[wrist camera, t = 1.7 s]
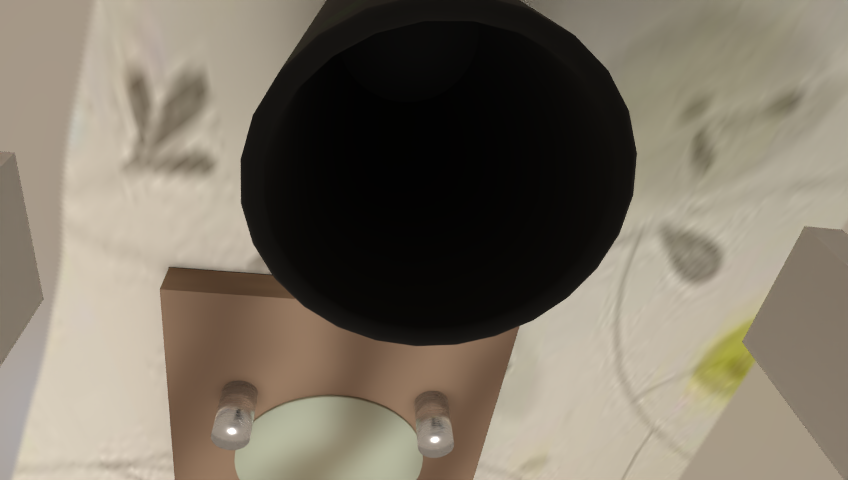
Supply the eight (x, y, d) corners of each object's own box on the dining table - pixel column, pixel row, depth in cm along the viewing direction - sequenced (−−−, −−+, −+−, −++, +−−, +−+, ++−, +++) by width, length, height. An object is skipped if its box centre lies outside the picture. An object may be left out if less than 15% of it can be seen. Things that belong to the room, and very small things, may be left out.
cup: (539, 90, 24) (663, 286, 14) (349, 159, 25) (340, 388, 15) (479, -134, 20) (595, -79, 10) (254, -41, 21) (157, 94, 11)
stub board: (515, 294, 29) (535, 355, 26) (441, 550, 40) (448, 617, 37) (169, 267, 27) (142, 330, 24) (188, 546, 38) (171, 617, 35)
